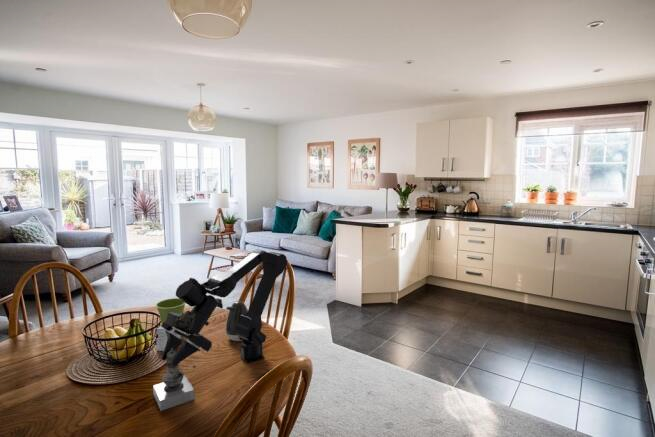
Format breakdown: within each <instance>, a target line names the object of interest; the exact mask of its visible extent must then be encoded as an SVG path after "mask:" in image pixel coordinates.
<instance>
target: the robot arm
mask: <svg viewBox="0 0 655 437" xmlns="http://www.w3.org/2000/svg"><path fill="white" fill-rule="evenodd" d="M261 264H262V266H261V267H262V273H263V274H262V275H261V279H260V281H259V283H258V286H257V288H256V291H255V293H254V295H253V298H252V300H251V304H250V306H249V308H248V312H247V313H246V314H245V315H240V316H239V318H238V321H237V323H236V325H235V326H236V328H235V332H236V335H237V336H238V337H239V339H240V340H243V341H241V342H242V343H241V344H242V345H241V346H240V358H242V359H243V360H244V361H245V363H247V364H250V363H254V362H258V361H259V360H263V359H265V355H263V343H266V338H267V335H266V334H264V333H263V332H262V331H261V330H262V326H263V323H262V315H263V313H264V310H265V308H266V305H267V302H268V299H269V297H270V294H271V292H272V289H273V287H274V284H275V282H276V280H277V278H278V277H279V276H281V274H283V273H284V270H285V268H286V267H287V265H288V258H287V256H286V255H285V254H283V253H279V252H273V251H270V252H267V251H266V250H262V249H254V250H252V251H251V253H250V254H249V255H247V256H246V257H244V258H243V259H242V260H240V261H239V262H238V263H236V264H235V265H234V266H232V267H230V269H228V270H226V271H223V272H222V271H221V272H218V273H217V274H214V275H213V276H211V277H210V278H209V279H208V280H207V281H204V282H202V283H201V282H199V281H198V280H197V279H196V278H194V277H190V278H189V279H188V280H185V281H183V283H181V284H180V285H179V286H178V287H177V288H176V290H175V297H176V298H179V299H181V300H182V301H184V302H185V305H186V304H187V305H188V306H189V307H193V308H192V309H191V310H186V311H184V312H185V313H184V312H183V314H179V313H172V312H168V315H167V318H166V321H164V323H163V324H162V323H161V325H160V326H161V327H162V328H164V329H166V330H167V331H165V333H166V334H167V343H166V346H165V349H164V351H162V354H161V355H162V356H161V360H163V361H167V353H168V352H169V351H171V348H173V350H175V351H177V349H178V348H179V347H180V348H179V350H178V351H177V354H176V356H175V358H174V359H173V361H172V363H171V365H172V366H175V365H177V364H178V363H179V364H180V363H181V362H182V361H184V360H185V359H187V358H188V357H190V356H192V355H194V354H196V353H197V352H201V349H202V350H203V351H206V352H209V351H210V349H211V348H212V347H213V342H212V340H210V339H208V338H207V337H206V336H204V335H202V334H200V332H201V331H202V330H203V329H204V327H205V326H207V327H208V326H209V324H210V322H208V320H209V319H210V317H211V316H212V315H213V313H214V311H215V310H216V308H220V309H223V308H224V306H223V299H221V298H226V297H228V296H229V295H230V294H231V293H232V292H233V291H234V290H235V289H236V286H237V285H238V283H239V281H241V280H242V279H243V278H245V276H247V275H248V274H249V273H251V272H252V271H253V270H254V269H256V268H257V267H258V266H259V265H261ZM215 296H216V297H219V298H215ZM181 337H182V338H181ZM183 338H185V339H186V340H185V339H183ZM179 364H178V365H179Z"/></svg>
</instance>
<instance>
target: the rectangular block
mask: <svg viewBox="0 0 655 437" xmlns="http://www.w3.org/2000/svg"><path fill="white" fill-rule="evenodd" d="M182 383H183V384H184V386H183V388H182V389H181V390H179V391H177V392H173V393H167V392H165V391H164V388H165V386H166V385H165V383H164V381H163V382H160V383H156V384H153V388H152V389H153V390H152V391H153V397H154V399H155V402H156V404H157V406H158V408H159V411H160V412H162V411H164V410H167V409H171V408H173V407H176V406H179V405H182V404H185V403H189V402H190V401H193V400H195V388H193V386H192V384H191V383H190V381H189V380H188V378H187V376H186V375H184V376H183V380H182Z"/></svg>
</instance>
